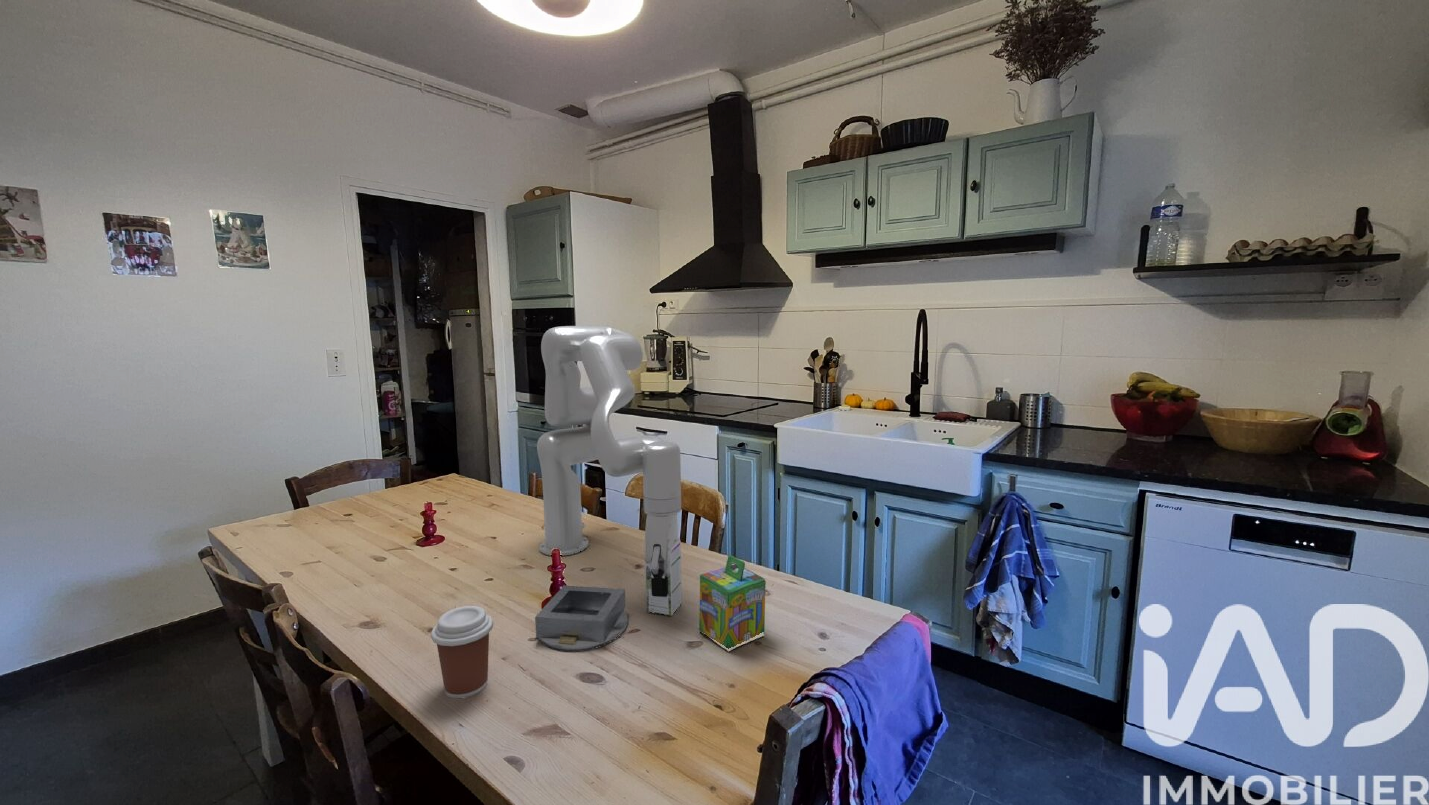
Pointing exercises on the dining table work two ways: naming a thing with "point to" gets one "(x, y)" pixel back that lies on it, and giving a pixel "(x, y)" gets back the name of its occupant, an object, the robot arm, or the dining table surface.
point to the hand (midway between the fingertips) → (663, 587)
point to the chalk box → (732, 603)
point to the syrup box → (674, 584)
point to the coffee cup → (463, 649)
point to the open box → (582, 618)
